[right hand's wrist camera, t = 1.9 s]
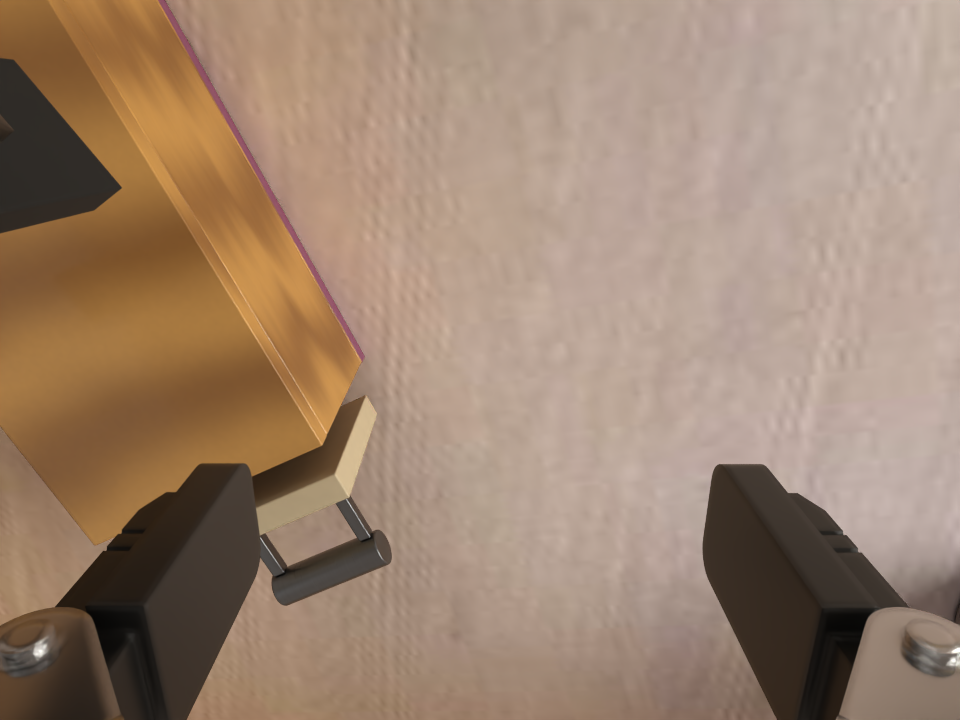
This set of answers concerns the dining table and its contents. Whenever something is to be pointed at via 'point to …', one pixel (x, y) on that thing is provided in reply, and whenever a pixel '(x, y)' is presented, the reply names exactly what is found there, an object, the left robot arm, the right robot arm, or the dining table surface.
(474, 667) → the dining table surface
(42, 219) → the left robot arm
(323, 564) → the drawer
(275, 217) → the cabinet
